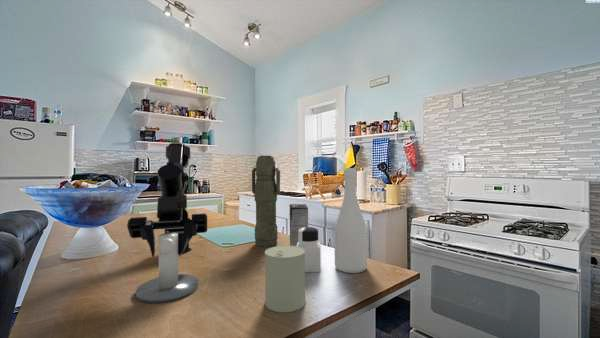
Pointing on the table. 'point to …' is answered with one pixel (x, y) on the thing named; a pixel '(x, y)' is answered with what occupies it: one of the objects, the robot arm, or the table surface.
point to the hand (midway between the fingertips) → (167, 254)
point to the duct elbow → (168, 260)
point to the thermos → (266, 201)
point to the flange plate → (166, 290)
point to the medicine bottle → (310, 248)
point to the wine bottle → (350, 230)
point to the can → (285, 278)
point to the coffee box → (297, 221)
